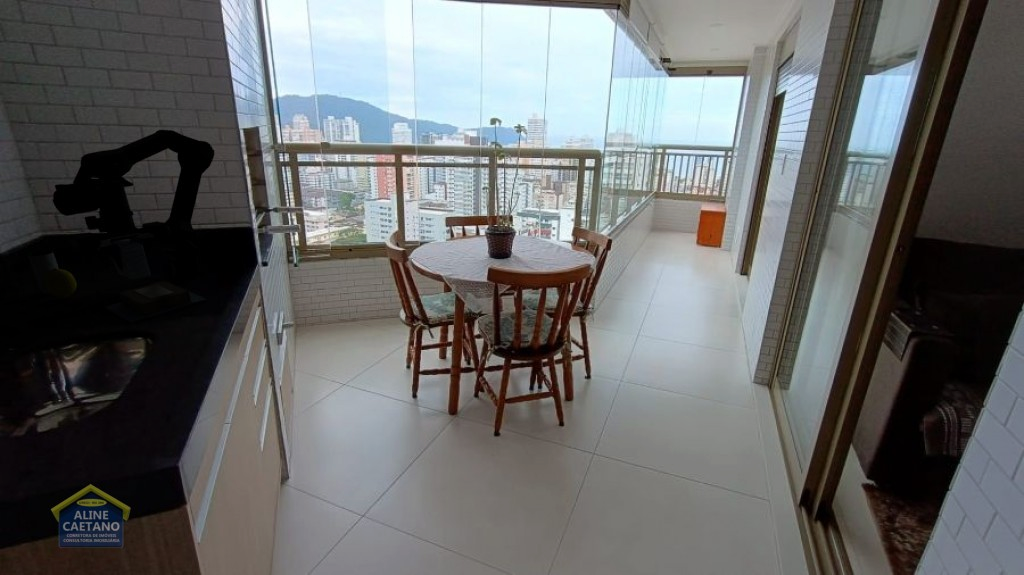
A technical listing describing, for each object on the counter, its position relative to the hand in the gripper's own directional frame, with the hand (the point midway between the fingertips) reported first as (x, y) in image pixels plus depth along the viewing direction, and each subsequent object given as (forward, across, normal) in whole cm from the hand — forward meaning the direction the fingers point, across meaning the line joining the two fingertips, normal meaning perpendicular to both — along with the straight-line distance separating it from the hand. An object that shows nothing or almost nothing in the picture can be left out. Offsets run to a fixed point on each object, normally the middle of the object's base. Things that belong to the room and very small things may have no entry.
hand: (132, 267), depth 117 cm
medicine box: (+2, 0, 0) cm, 2 cm away
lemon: (+7, +12, -10) cm, 17 cm away
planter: (+7, +12, -18) cm, 23 cm away
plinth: (+7, +1, +12) cm, 14 cm away
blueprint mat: (+7, +1, +12) cm, 14 cm away
